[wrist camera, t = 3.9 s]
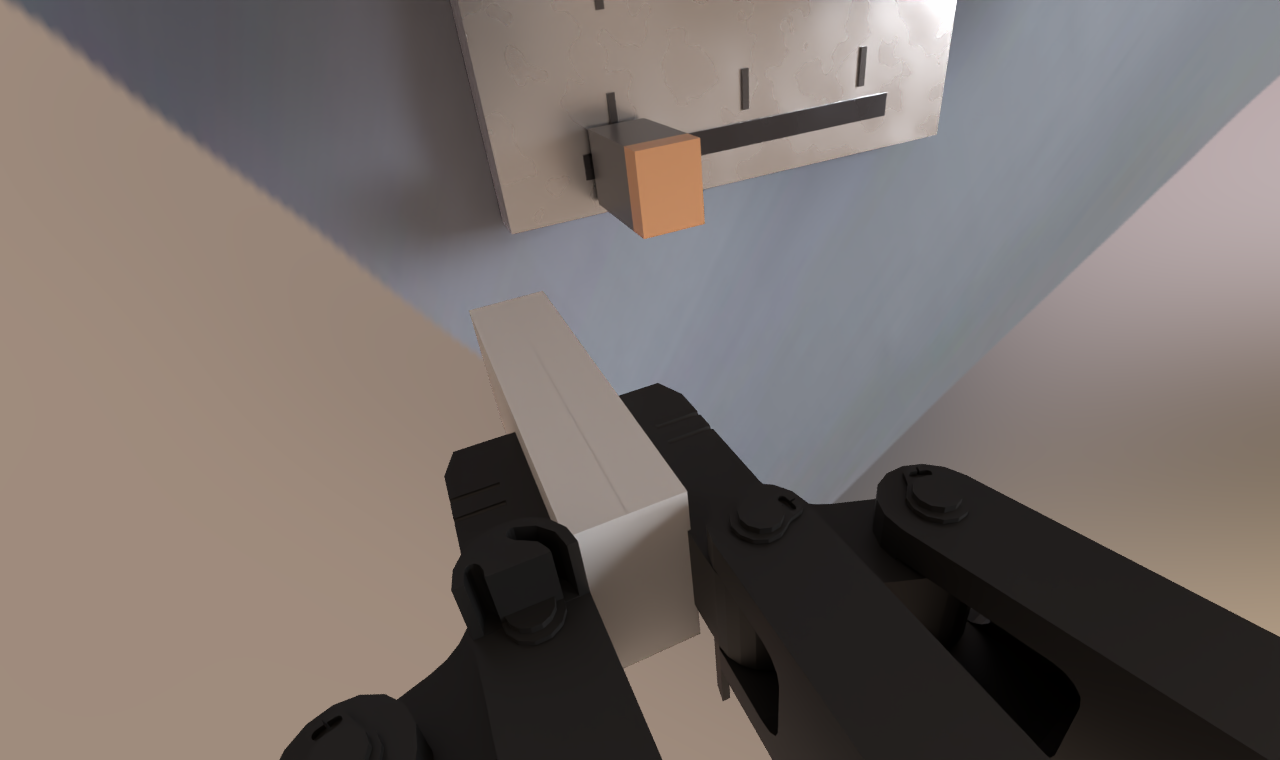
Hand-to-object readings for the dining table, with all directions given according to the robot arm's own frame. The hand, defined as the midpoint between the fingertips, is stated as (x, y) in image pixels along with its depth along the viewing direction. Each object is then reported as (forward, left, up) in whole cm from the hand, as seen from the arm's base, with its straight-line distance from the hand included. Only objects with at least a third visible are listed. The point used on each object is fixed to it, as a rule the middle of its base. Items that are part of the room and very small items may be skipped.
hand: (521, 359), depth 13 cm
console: (-4, +13, -16) cm, 21 cm away
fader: (0, +7, -13) cm, 15 cm away
